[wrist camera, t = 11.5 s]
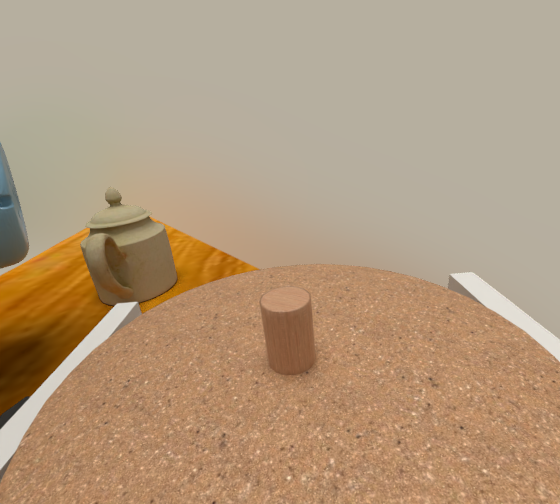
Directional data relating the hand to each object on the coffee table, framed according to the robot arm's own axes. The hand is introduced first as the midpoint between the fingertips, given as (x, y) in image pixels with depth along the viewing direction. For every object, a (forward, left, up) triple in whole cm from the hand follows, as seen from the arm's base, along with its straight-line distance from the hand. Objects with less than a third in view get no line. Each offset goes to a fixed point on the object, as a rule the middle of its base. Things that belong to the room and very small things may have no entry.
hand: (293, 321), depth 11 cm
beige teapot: (-37, +6, -14) cm, 40 cm away
